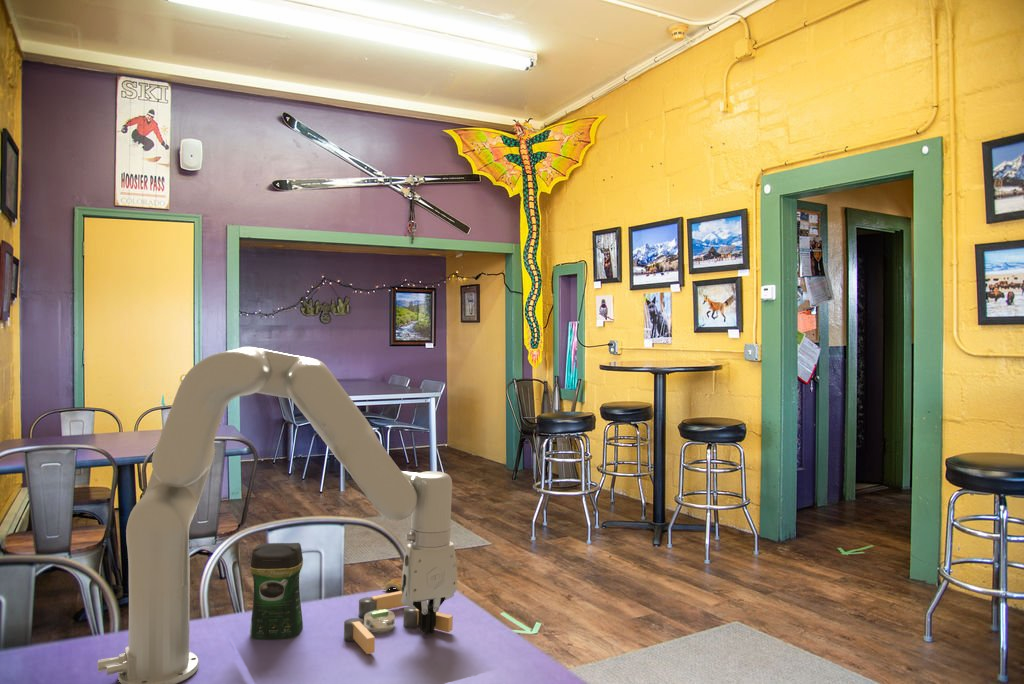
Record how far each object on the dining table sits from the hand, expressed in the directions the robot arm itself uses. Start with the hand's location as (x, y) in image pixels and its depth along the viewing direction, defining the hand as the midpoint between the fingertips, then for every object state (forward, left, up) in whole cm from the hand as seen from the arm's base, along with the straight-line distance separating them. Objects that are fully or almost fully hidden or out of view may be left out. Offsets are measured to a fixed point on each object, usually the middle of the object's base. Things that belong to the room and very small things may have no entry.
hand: (426, 631), depth 139 cm
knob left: (-12, +2, -1) cm, 13 cm away
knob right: (+2, +3, -1) cm, 4 cm away
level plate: (-6, +8, -2) cm, 11 cm away
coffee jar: (-24, +16, -3) cm, 29 cm away
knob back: (-3, +15, -1) cm, 15 cm away
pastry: (+6, +26, -3) cm, 27 cm away
